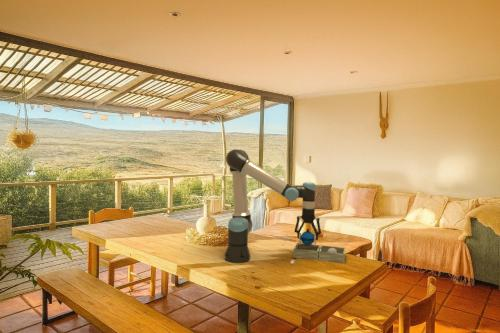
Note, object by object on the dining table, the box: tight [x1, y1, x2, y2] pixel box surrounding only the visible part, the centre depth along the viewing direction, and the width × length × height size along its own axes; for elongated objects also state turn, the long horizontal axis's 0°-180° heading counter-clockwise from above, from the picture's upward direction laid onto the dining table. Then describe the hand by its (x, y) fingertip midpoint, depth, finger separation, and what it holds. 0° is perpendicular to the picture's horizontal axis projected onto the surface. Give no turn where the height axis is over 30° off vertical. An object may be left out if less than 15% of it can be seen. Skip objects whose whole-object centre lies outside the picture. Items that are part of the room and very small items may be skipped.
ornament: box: [300, 228, 315, 245], centre depth 204 cm, size 9×9×10 cm
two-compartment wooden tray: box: [292, 242, 346, 264], centre depth 202 cm, size 15×30×6 cm, turn 73°
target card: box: [290, 259, 297, 265], centre depth 193 cm, size 6×8×1 cm
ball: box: [327, 248, 337, 253], centre depth 200 cm, size 6×6×6 cm
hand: (307, 244), depth 204 cm, fingers closed on ornament, 9 cm apart
